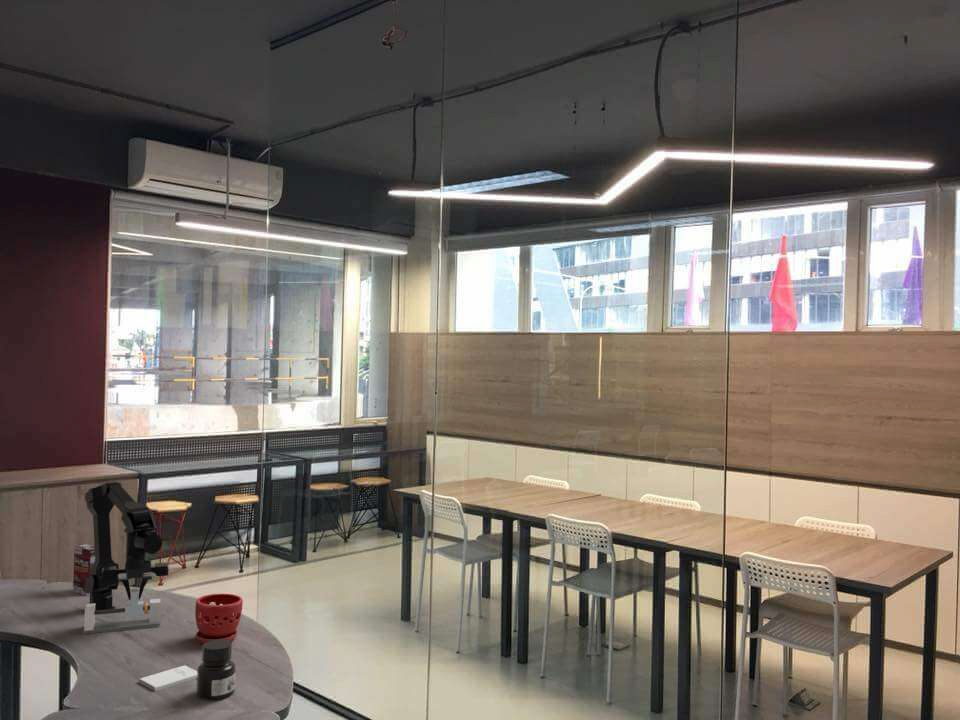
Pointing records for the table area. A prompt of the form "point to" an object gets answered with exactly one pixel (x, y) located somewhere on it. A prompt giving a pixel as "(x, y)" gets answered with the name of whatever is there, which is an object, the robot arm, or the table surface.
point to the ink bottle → (216, 671)
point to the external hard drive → (169, 678)
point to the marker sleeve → (134, 605)
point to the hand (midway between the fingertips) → (134, 599)
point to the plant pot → (218, 617)
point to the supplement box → (82, 566)
